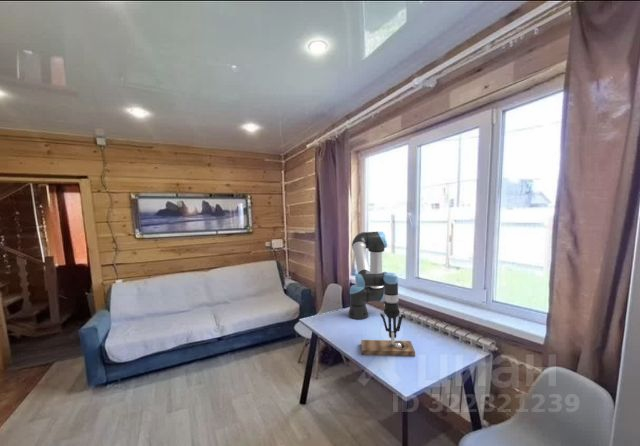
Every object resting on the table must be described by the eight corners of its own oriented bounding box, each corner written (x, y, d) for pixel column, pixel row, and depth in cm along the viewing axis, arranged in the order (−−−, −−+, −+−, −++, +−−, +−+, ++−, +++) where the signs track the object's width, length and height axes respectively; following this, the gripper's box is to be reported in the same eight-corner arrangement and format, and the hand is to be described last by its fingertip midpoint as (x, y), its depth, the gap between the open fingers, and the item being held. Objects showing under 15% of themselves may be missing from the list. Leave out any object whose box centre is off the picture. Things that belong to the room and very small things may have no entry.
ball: (392, 345, 150) (396, 339, 150) (398, 349, 150) (402, 344, 150) (393, 349, 146) (398, 343, 146) (399, 353, 146) (404, 347, 146)
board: (361, 354, 145) (361, 350, 145) (361, 344, 157) (361, 339, 157) (415, 356, 141) (415, 351, 141) (410, 345, 153) (410, 340, 153)
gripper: (380, 303, 145) (381, 346, 146) (404, 303, 144) (406, 346, 144) (378, 299, 153) (380, 339, 153) (402, 299, 151) (403, 340, 152)
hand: (392, 343), depth 149 cm, fingers closed
